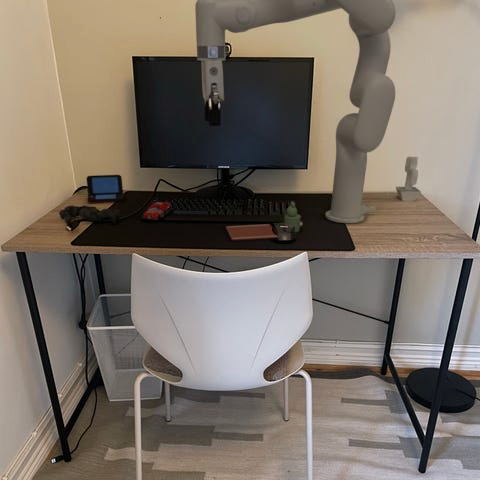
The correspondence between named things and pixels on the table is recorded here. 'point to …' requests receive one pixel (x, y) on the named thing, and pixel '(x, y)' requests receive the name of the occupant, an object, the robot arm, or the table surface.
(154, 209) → the race car
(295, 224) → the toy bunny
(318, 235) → the table surface
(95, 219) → the robot figurine
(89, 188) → the handheld game console
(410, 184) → the figurine
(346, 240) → the table surface
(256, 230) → the reddish brown flat tray
